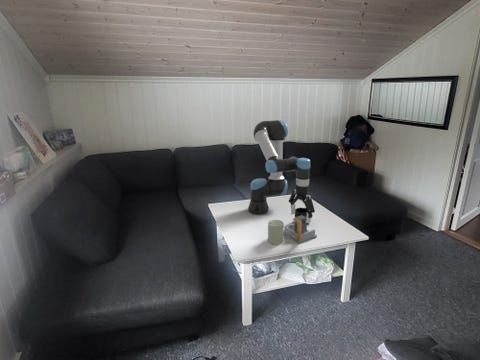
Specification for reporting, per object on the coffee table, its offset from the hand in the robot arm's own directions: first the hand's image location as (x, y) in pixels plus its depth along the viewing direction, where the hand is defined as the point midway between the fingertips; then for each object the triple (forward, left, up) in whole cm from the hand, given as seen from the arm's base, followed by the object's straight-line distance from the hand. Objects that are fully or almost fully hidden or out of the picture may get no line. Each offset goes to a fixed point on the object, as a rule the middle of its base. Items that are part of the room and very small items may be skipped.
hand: (300, 218), depth 178 cm
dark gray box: (+1, 0, -9) cm, 9 cm away
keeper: (0, -1, -11) cm, 11 cm away
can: (-2, -17, -11) cm, 21 cm away
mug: (-11, +13, -11) cm, 20 cm away
